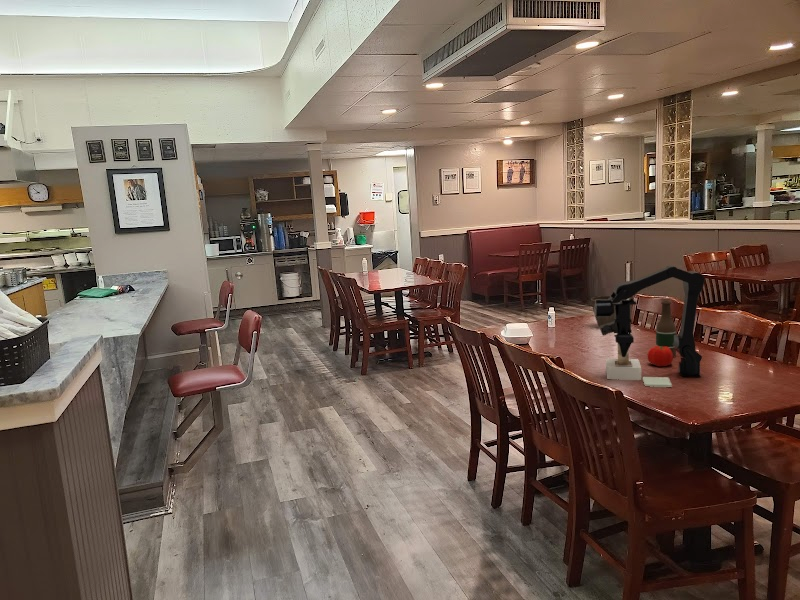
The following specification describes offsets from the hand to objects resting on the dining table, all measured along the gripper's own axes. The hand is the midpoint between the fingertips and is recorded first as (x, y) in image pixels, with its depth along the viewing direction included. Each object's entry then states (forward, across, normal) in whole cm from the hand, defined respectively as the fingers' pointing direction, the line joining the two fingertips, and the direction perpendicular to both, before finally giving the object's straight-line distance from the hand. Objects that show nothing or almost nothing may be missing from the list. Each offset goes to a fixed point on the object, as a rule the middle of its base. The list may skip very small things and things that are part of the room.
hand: (623, 355), depth 219 cm
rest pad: (+8, +9, +11) cm, 16 cm away
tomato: (+8, -16, +15) cm, 23 cm away
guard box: (+8, 0, 0) cm, 8 cm away
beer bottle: (+8, -30, +19) cm, 36 cm away
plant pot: (+8, -86, -3) cm, 86 cm away
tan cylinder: (+4, 0, 0) cm, 4 cm away
